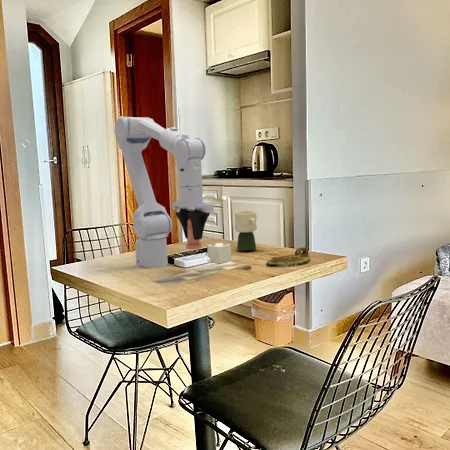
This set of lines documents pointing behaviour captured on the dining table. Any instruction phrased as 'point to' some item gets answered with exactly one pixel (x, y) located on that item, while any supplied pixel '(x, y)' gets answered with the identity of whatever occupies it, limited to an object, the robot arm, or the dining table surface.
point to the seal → (291, 259)
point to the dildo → (192, 238)
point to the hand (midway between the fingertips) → (193, 238)
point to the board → (207, 270)
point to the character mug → (245, 229)
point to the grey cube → (219, 252)
